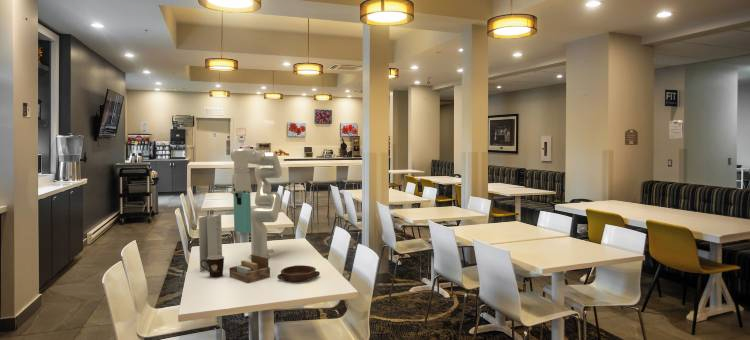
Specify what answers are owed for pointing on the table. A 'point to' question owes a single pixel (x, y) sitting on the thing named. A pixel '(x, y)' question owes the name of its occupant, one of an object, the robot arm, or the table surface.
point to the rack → (253, 275)
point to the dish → (298, 273)
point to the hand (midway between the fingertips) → (242, 203)
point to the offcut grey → (243, 270)
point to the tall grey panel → (209, 238)
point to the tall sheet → (242, 213)
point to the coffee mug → (215, 265)
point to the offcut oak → (249, 265)
